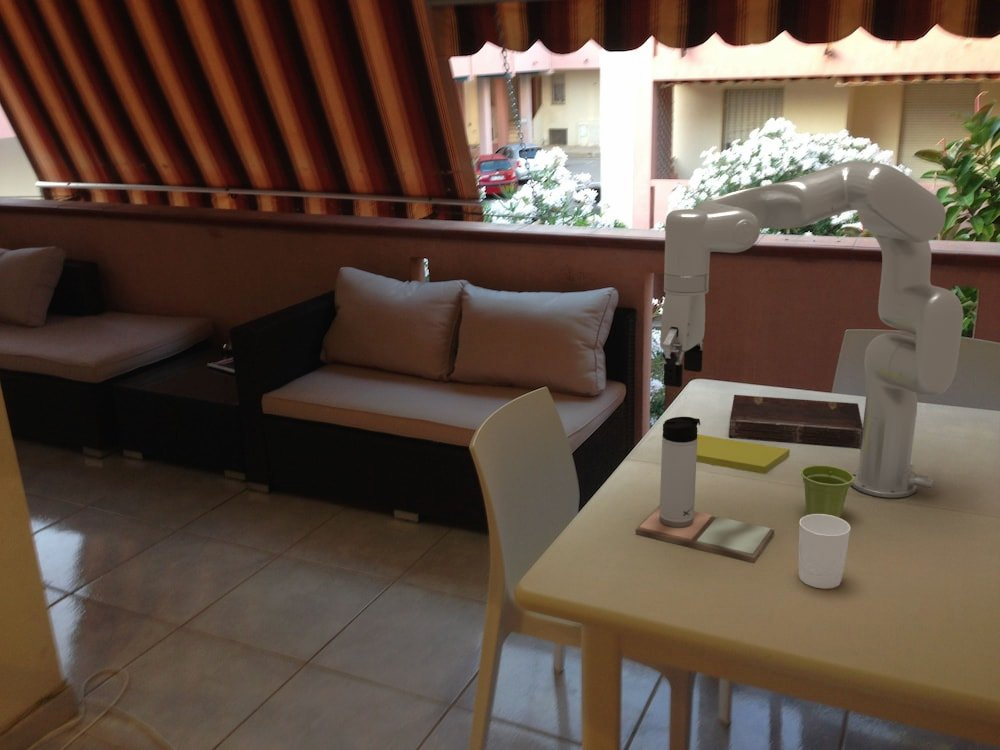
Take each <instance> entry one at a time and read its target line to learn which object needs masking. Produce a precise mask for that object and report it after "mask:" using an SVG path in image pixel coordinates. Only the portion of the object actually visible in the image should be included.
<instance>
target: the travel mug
mask: <svg viewBox="0 0 1000 750" xmlns="http://www.w3.org/2000/svg"><path fill="white" fill-rule="evenodd" d="M698 426H701V420H700V418H697V417H692V416H691V417H690V416H676V417H670V418H668V419H666V420H665V421H664V423H662V435H661V438H662V440H661V459H660V463H661V464H660V466H661V467H660V489H659V490H660V496H659V506H660V515H659V519H660V521H661V522H662V523H663V524H665V525H667V526H670V527H686V526H689V525H691V524H692V523H693V521H694V511H695V500H696V499H695V497H696V480H697V479H696V478H697V477H696V475H697V462H696V460H697V438H698V437H697V434H698V431H699V430H698Z"/></svg>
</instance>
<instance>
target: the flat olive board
mask: <svg viewBox="0 0 1000 750" xmlns="http://www.w3.org/2000/svg"><path fill="white" fill-rule="evenodd" d="M697 437H698V438H697V460H696V463H700V464H701V463H702V464H707V465H712V466H717V467H723V468H728V469H735V470H738V471H739V470H741V471H745V472H750V473H757V474H760V475H761V474H762V475H765V474H766V473H768V472H769V471H771V470H773V469H774V468H775V467H776V466H778V465H779V464H781V463H782V462H784V461H785V460H786V459H788V458H789V457H790V453H791V452H790V451H791V449H790V448H783V447H778V446H777V447H776V446H772V445H767V444H766V445H764V444H760V443H751V442H747V441H741V440H736V439H730V438H729V439H728V438H722V437H716V436H710V435H704V434H698V433H697Z"/></svg>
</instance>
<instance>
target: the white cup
mask: <svg viewBox="0 0 1000 750" xmlns="http://www.w3.org/2000/svg"><path fill="white" fill-rule="evenodd" d="M798 523H799V525H798V527H799V528H798V578H799V580H800V581H802V582H803V583H804V584H805V585H806V586H810V587H812V588H817V589H824V590H827V589H834V588H837V587H839V586H840V585H841V583H842V580H843V574H844V573H843V572H844V569H845V567H846V566H845V564H846V559H847V554H848V547H849V543H850V542H849V539H850V533H851V529H852V527H851V525H850V524H849V522H847V520H845V519H843V518H841V517H840V518H838V517H835V516H832V515H826V514H811V515H807V514H806V515H804V516H802V517H801V518H800V520H799V522H798Z"/></svg>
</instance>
